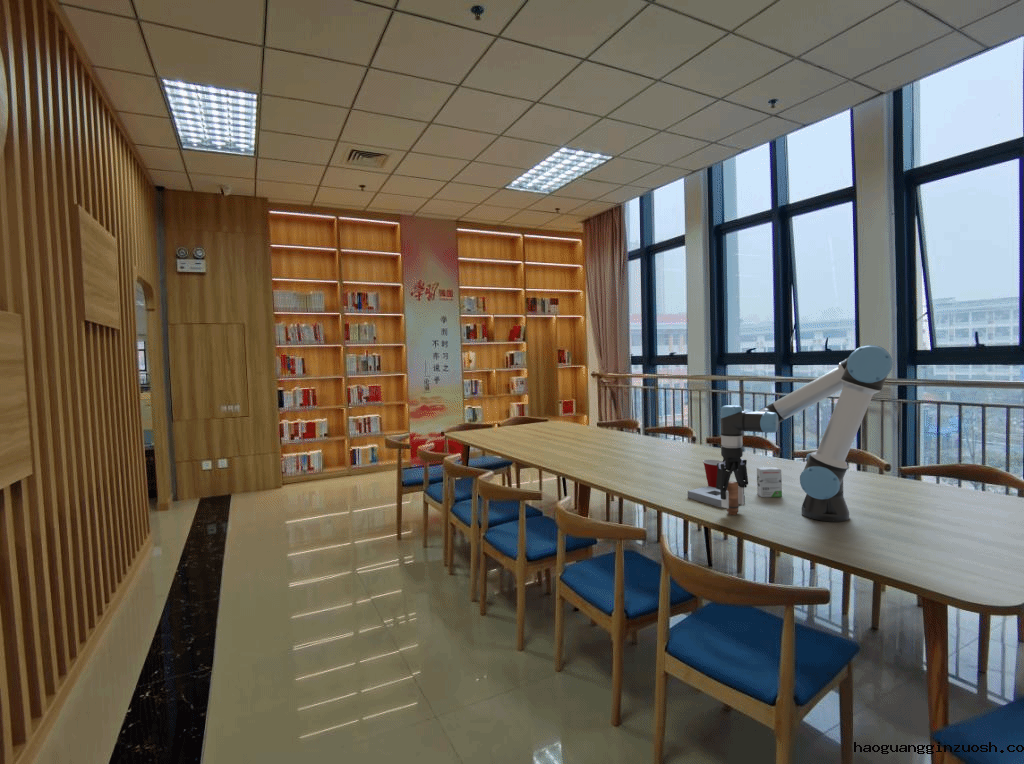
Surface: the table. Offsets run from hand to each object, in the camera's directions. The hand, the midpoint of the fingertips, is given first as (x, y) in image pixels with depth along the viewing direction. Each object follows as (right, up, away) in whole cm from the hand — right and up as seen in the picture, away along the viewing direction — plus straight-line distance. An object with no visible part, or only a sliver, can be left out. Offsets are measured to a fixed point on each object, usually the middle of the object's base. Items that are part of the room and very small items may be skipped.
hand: (732, 505), depth 199 cm
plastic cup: (+9, -1, +38) cm, 39 cm away
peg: (0, -3, 0) cm, 3 cm away
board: (+1, -2, +19) cm, 19 cm away
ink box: (+25, -1, +22) cm, 33 cm away
